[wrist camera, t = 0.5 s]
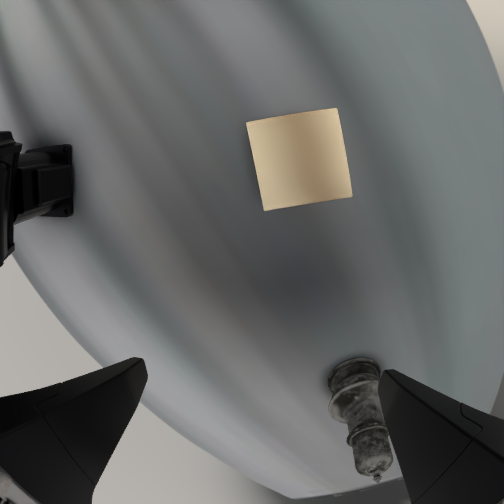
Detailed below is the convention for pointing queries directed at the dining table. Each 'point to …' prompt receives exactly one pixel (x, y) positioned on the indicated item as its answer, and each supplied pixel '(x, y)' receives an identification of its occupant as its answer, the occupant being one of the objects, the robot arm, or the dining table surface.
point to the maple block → (300, 158)
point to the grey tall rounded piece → (361, 414)
